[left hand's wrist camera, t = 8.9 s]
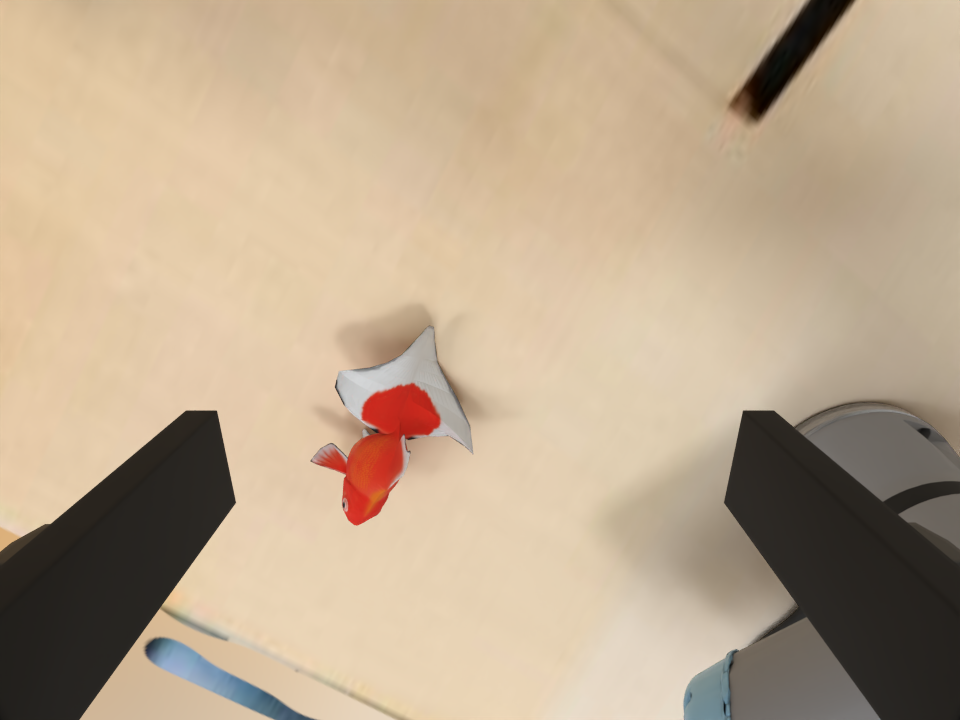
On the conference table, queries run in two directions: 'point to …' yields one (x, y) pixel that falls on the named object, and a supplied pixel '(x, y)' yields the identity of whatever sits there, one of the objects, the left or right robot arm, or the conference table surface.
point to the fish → (392, 423)
